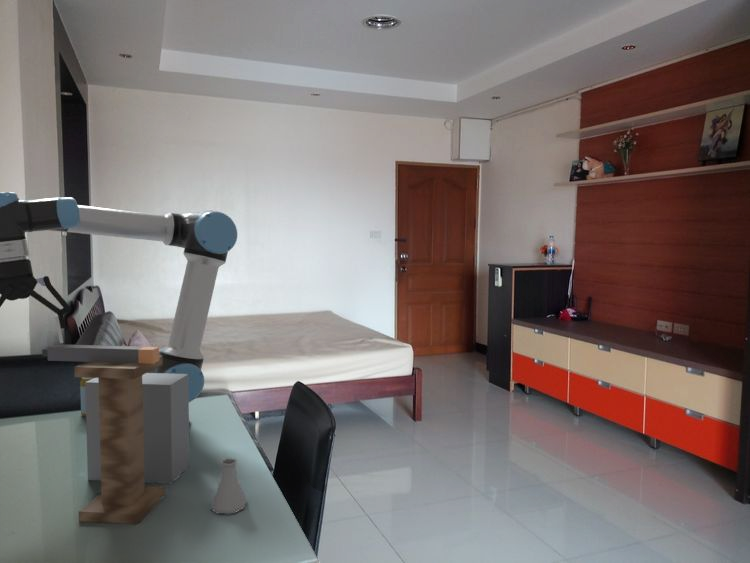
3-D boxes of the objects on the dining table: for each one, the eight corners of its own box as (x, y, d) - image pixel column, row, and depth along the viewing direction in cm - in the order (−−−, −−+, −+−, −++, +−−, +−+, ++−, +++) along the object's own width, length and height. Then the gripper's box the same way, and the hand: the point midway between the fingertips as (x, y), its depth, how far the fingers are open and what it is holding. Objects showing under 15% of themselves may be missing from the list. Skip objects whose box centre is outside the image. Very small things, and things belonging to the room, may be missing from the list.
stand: (78, 521, 110) (74, 367, 108) (111, 493, 122) (108, 354, 120) (137, 523, 109) (134, 368, 107) (164, 495, 121) (162, 355, 119)
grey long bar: (40, 360, 113) (39, 346, 113) (49, 357, 116) (48, 344, 115) (153, 363, 111) (152, 349, 111) (159, 360, 114) (159, 347, 114)
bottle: (95, 418, 171) (94, 370, 170) (76, 416, 173) (74, 369, 172) (110, 411, 178) (109, 365, 177) (91, 410, 180) (90, 364, 178)
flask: (253, 502, 119) (253, 457, 118) (234, 518, 112) (233, 470, 111) (224, 497, 121) (223, 452, 120) (203, 512, 114) (203, 465, 114)
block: (87, 480, 129) (85, 382, 127) (111, 462, 138) (108, 371, 137) (172, 483, 127) (170, 384, 125) (189, 465, 137) (188, 374, 135)
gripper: (-58, 268, 120) (-38, 364, 122) (72, 252, 132) (88, 339, 135) (-54, 267, 126) (-34, 358, 129) (70, 252, 139) (86, 335, 141)
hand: (29, 348), depth 132 cm, fingers open, 13 cm apart
